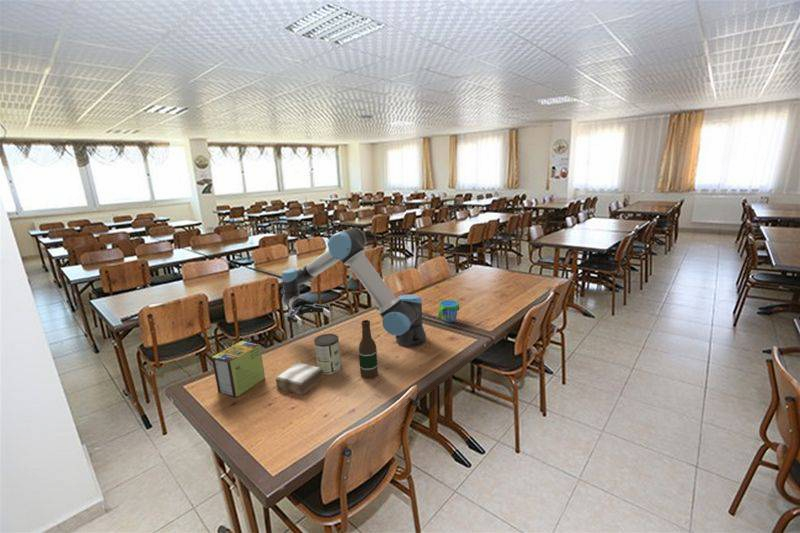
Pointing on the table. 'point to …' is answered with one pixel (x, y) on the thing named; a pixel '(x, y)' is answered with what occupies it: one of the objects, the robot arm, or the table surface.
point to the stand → (299, 378)
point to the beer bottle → (367, 353)
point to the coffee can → (328, 353)
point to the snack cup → (448, 310)
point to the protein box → (238, 368)
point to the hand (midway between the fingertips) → (315, 318)
